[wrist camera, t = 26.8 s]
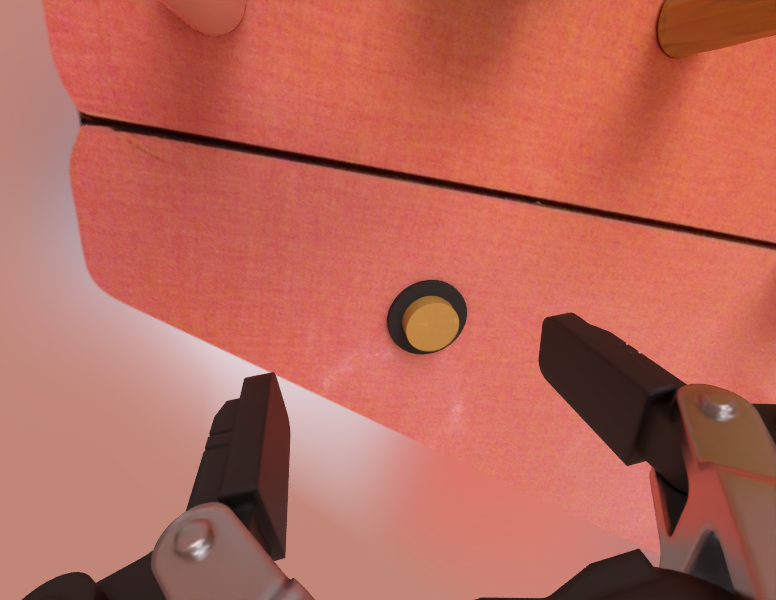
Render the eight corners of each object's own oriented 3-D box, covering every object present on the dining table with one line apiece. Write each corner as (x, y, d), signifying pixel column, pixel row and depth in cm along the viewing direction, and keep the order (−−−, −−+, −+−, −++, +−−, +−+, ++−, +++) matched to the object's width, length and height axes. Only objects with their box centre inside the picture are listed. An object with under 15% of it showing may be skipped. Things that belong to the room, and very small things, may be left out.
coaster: (425, 364, 43) (426, 367, 43) (370, 323, 40) (371, 326, 39) (480, 311, 42) (482, 313, 41) (428, 263, 38) (430, 265, 37)
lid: (429, 284, 38) (435, 291, 37) (463, 315, 41) (470, 323, 39) (391, 323, 39) (394, 332, 38) (426, 351, 42) (431, 360, 40)
